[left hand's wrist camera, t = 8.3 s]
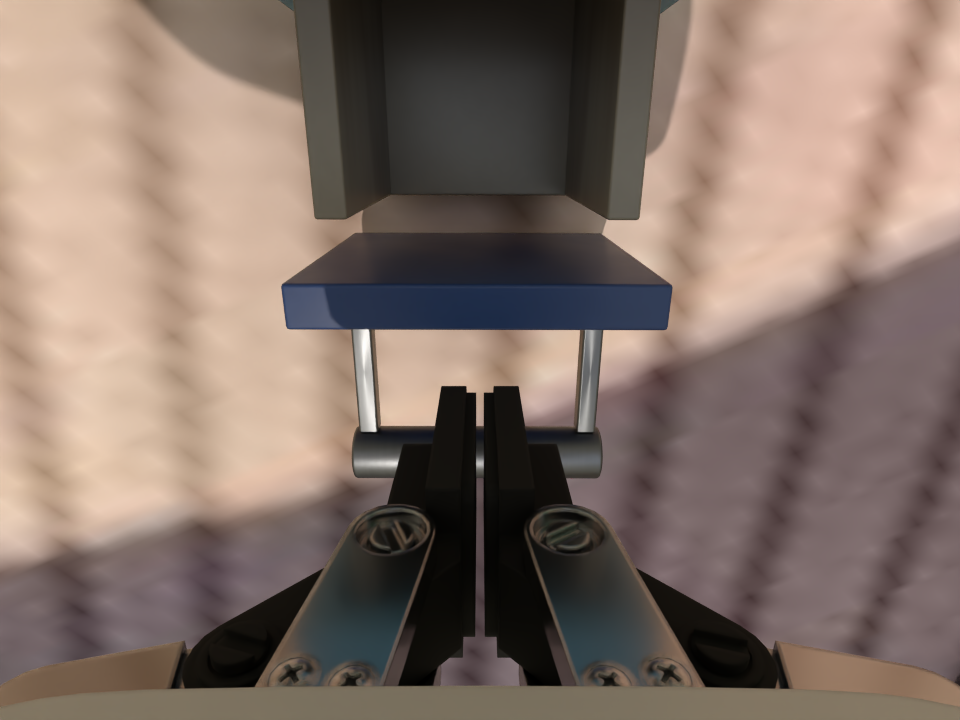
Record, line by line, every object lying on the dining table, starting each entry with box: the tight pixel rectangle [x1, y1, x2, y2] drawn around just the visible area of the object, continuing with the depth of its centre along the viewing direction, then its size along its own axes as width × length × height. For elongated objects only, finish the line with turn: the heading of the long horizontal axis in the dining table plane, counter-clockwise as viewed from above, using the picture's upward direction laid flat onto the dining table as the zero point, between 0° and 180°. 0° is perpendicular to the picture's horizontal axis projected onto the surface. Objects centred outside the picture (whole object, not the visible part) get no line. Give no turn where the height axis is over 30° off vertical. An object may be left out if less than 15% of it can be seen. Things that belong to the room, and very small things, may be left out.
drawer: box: [281, 0, 672, 478], centre depth 17 cm, size 18×10×9 cm, turn 0°
